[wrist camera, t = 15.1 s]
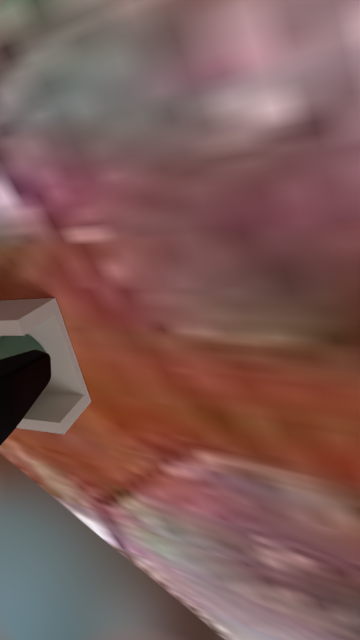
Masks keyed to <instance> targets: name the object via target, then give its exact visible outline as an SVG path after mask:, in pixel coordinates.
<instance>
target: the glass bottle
mask: <svg viewBox="0 0 360 640" xmlns="http://www.w3.org/2000/svg"><path fill="white" fill-rule="evenodd" d="M35 349H37V350H40V351H43V352H46V351H45V350H44V348H43V347H42V346H41V345H40V344H39V343H38V342H37V341H36V340H35V339H34V338H32V337H31V336H29V335H27V334H25V335H24V336H0V359H3V358H6V357H10V356H13V355H17V354H20V353H24V352H27V351H31V350H35Z"/></svg>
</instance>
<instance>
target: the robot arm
mask: <svg viewBox="0 0 360 640" xmlns="http://www.w3.org/2000/svg"><path fill="white" fill-rule="evenodd" d="M50 379H51V358H50V355H49V354H48V353H46V352H43V351H40V350H37V349H35V350H31V351H27V352H24V353H20V354H17V355H13V356H10V357H6V358H3V359H0V445H1V444H2V443H3V442H4V441H5V440H6V438H7V437H8V436H9V435H10V434H11V433H12V432H13V430H14V429H15V428H16V427H17V426H18V424H19V423H20V422H21V420H22V419H23V418H24V416H25V415H26V414H27V412H28V411H29V410H30V408H31V407H32V405H33V404H34V403H35V401H36V400H37V399H38V397H39V396H40V394H41V393H42V392H43V390H44V389H45V388H46V386H47V385H48V383H49V381H50Z"/></svg>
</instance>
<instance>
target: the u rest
mask: <svg viewBox="0 0 360 640" xmlns="http://www.w3.org/2000/svg"><path fill="white" fill-rule="evenodd" d="M25 334H27V335H29V336H31V337H32V338H34V339H35V340H36V341H37V342H38V343H39V344H40V345H41V346H42V347H43V348H44V350H45V351H46V353H48V354H49V355H50V358H51V379H50V381H49V383H48V385H47V386H46V388H45V389H44V390H43V392H42V393H41V394H40V396H39V397H38V399H37V400H36V401H35V403H34V404H33V405H32V407H31V408H30V410H29V411H28V412H27V414H26V415H25V416H24V418H23V419H22V420H21V422H20V423H19V424H18V426H17V427H16V428H21V429H29V430H36V431H44V432H51V433H58V434H65V433H66V432H67V430H68V429H69V428H70V427H71V426H72V424H73V423H74V422H75V421H76V419H77V418H78V417H79V416H80V415H81V413H82V412H83V411H84V410H85V408H86V407H87V406H88V405H89V404H90V402H91V399H90V396H89V393H88V391H87V388H86V385H85V382H84V379H83V376H82V373H81V370H80V368H79V365H78V362H77V359H76V356H75V353H74V350H73V347H72V344H71V342H70V339H69V336H68V333H67V330H66V327H65V324H64V321H63V318H62V316H61V313H60V310H59V307H58V304H57V301H56V298H41V299H20V300H0V336H24V335H25Z"/></svg>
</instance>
